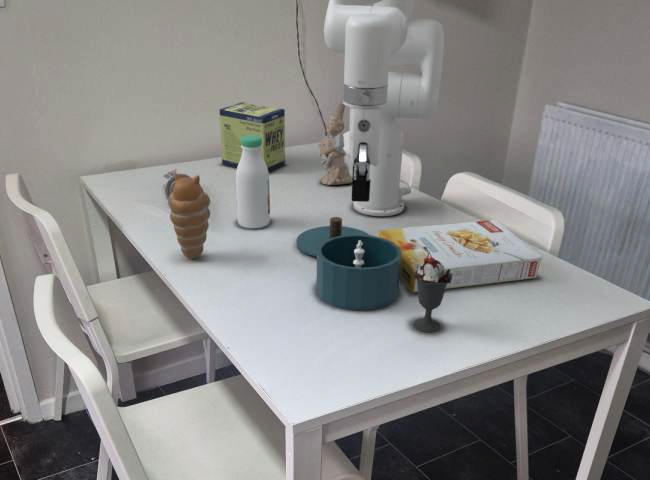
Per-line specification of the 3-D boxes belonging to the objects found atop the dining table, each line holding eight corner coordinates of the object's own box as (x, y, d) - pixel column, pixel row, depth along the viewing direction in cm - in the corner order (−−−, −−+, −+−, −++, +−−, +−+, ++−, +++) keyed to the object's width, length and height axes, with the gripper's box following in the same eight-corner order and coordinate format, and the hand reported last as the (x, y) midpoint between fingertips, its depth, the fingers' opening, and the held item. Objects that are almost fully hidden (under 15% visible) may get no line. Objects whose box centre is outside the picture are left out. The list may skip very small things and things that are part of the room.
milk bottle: (265, 230, 166) (263, 143, 154) (233, 227, 167) (229, 141, 156) (273, 218, 172) (272, 133, 161) (242, 215, 173) (239, 131, 162)
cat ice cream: (218, 252, 156) (212, 170, 145) (206, 267, 149) (199, 182, 139) (179, 248, 157) (172, 166, 147) (166, 263, 151) (157, 178, 141)
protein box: (265, 174, 199) (263, 116, 190) (221, 164, 206) (217, 108, 197) (286, 165, 206) (285, 108, 197) (243, 155, 213) (240, 101, 204)
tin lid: (336, 224, 169) (337, 199, 166) (389, 247, 158) (392, 220, 155) (280, 243, 160) (280, 217, 156) (333, 269, 149) (334, 241, 146)
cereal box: (377, 228, 152) (495, 215, 159) (375, 252, 155) (491, 239, 162) (415, 270, 136) (545, 254, 143) (412, 296, 140) (539, 279, 146)
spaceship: (170, 200, 159) (201, 183, 160) (149, 169, 189) (176, 155, 189) (186, 230, 164) (217, 214, 164) (164, 195, 193) (190, 181, 193)
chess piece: (374, 286, 141) (377, 239, 136) (362, 296, 138) (365, 248, 132) (352, 280, 143) (354, 233, 138) (340, 290, 140) (341, 242, 134)
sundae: (404, 317, 132) (412, 241, 124) (440, 316, 133) (450, 240, 124) (412, 335, 127) (420, 257, 118) (449, 334, 127) (460, 256, 119)
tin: (357, 266, 150) (359, 228, 145) (415, 293, 140) (419, 253, 135) (299, 288, 142) (299, 248, 137) (356, 319, 132) (359, 277, 127)
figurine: (340, 175, 199) (343, 99, 188) (358, 183, 193) (361, 106, 182) (313, 180, 195) (314, 103, 184) (330, 189, 189) (332, 111, 178)
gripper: (388, 108, 116) (381, 209, 126) (385, 83, 130) (379, 175, 140) (342, 107, 116) (338, 208, 126) (344, 82, 130) (341, 174, 140)
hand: (360, 191), depth 133 cm, fingers open, 9 cm apart
